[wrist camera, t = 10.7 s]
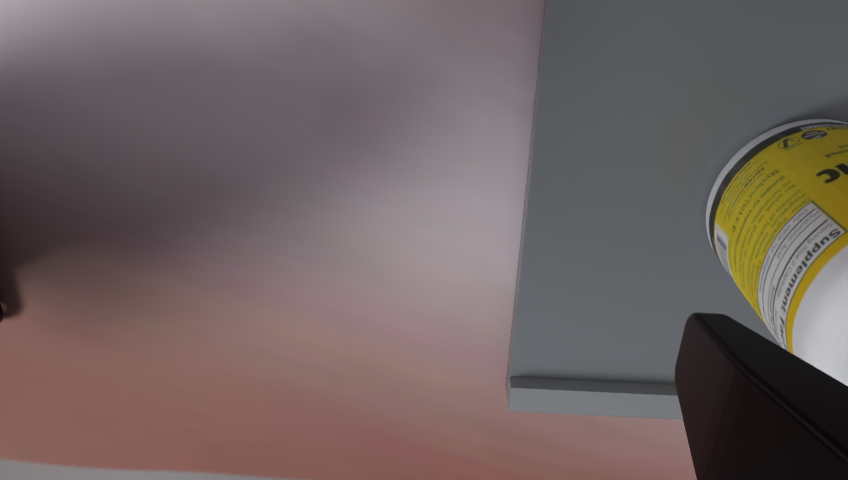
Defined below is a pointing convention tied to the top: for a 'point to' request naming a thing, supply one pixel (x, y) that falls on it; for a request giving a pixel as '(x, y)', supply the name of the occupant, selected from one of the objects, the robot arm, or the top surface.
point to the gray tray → (647, 183)
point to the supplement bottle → (790, 236)
